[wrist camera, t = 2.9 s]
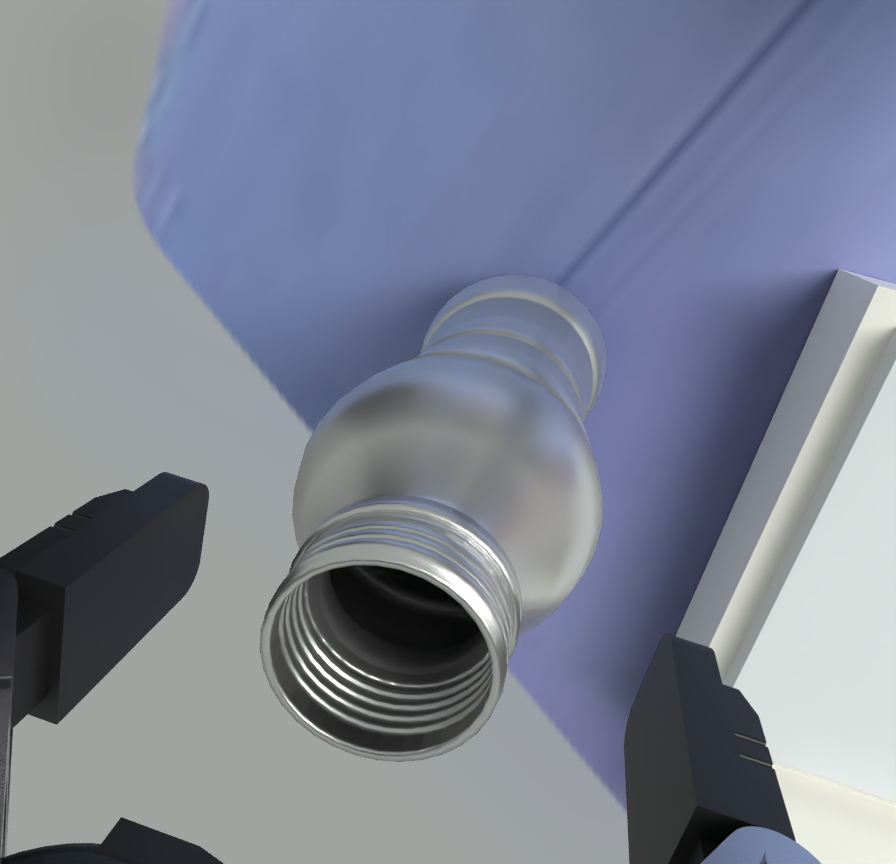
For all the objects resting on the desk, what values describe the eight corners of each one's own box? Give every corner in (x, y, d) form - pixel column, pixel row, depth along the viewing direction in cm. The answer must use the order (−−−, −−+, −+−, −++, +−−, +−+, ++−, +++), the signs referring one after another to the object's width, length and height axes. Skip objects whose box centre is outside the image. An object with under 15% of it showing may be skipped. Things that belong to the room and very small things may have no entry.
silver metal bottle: (627, 397, 29) (676, 804, 11) (468, 445, 31) (273, 860, 12) (575, 239, 27) (526, 389, 9) (411, 300, 29) (90, 528, 11)
